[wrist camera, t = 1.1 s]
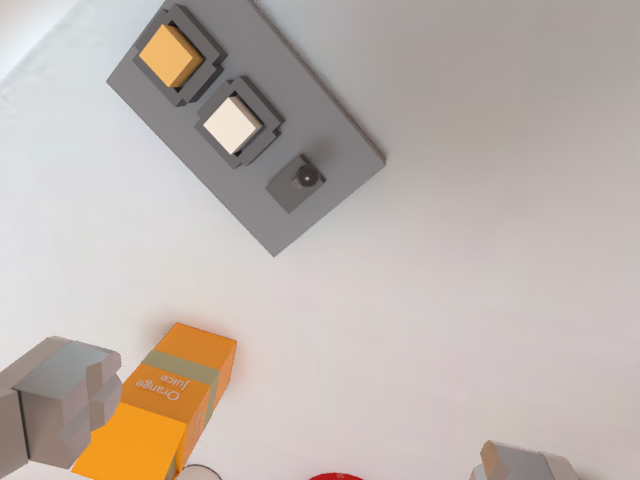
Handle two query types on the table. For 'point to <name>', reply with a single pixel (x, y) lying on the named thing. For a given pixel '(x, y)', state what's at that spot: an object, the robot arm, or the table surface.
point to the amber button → (171, 56)
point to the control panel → (265, 103)
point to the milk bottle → (197, 474)
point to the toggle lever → (306, 177)
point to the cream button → (233, 124)
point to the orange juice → (161, 409)
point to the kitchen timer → (335, 477)
